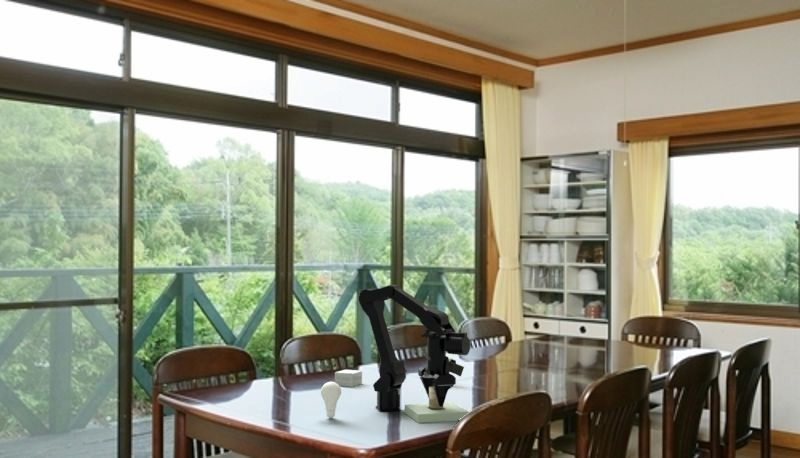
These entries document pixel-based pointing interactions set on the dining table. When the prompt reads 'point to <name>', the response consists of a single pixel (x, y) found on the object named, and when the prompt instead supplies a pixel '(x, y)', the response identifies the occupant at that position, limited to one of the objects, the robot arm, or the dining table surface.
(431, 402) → the peg
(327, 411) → the lightbulb
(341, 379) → the small box
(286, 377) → the dining table surface
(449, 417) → the board
